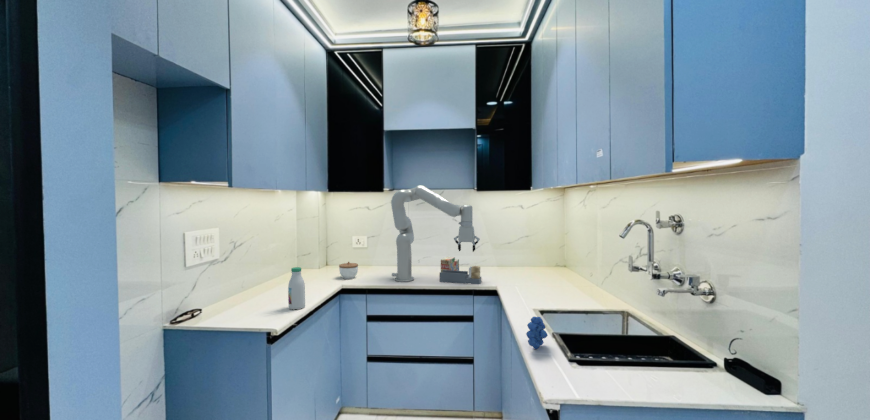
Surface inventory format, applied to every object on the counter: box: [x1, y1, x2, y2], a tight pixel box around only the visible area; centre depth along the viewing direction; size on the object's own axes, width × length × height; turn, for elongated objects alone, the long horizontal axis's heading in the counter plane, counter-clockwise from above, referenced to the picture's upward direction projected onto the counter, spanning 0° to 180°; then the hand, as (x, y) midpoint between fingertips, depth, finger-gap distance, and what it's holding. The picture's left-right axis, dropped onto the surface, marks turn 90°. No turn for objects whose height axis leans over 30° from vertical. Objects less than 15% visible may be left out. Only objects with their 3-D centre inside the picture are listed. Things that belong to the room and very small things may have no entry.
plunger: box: [466, 266, 472, 278], centre depth 229 cm, size 10×6×6 cm, turn 75°
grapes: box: [525, 316, 548, 350], centre depth 126 cm, size 12×7×12 cm, turn 137°
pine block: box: [470, 265, 481, 279], centre depth 227 cm, size 5×5×7 cm
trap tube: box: [439, 270, 482, 285], centre depth 230 cm, size 26×9×6 cm, turn 75°
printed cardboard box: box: [440, 256, 460, 272], centre depth 252 cm, size 21×6×12 cm, turn 157°
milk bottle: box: [287, 266, 306, 310], centre depth 175 cm, size 8×8×20 cm
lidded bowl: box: [338, 261, 359, 280], centre depth 241 cm, size 13×13×11 cm
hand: (466, 250), depth 228 cm, fingers open, 8 cm apart
